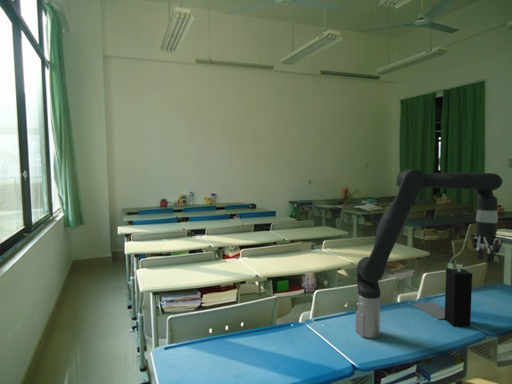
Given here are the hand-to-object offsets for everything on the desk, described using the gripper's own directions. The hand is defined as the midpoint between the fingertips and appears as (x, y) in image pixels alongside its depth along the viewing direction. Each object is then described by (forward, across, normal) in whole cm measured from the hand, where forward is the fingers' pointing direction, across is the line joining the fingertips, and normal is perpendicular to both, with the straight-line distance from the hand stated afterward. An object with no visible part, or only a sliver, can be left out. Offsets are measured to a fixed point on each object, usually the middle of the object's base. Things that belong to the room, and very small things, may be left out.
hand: (485, 260), depth 146 cm
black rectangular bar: (+33, -14, 0) cm, 36 cm away
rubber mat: (+33, -28, 0) cm, 43 cm away
